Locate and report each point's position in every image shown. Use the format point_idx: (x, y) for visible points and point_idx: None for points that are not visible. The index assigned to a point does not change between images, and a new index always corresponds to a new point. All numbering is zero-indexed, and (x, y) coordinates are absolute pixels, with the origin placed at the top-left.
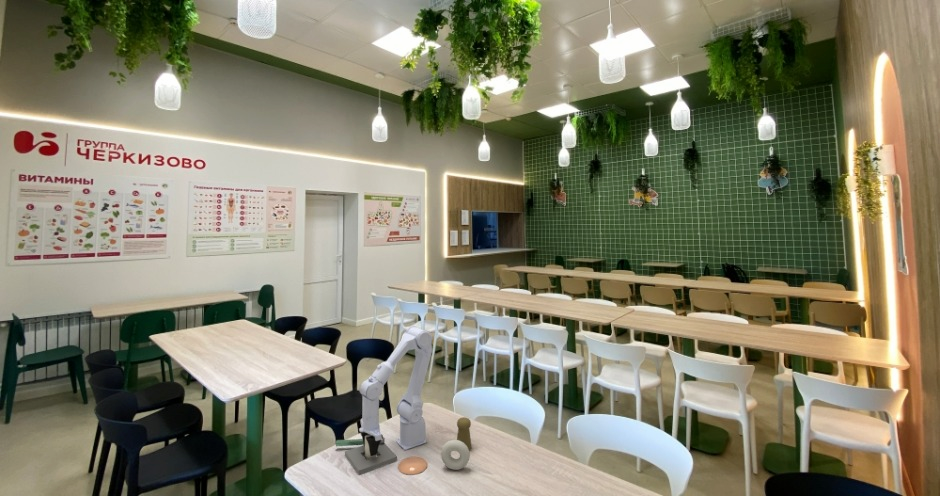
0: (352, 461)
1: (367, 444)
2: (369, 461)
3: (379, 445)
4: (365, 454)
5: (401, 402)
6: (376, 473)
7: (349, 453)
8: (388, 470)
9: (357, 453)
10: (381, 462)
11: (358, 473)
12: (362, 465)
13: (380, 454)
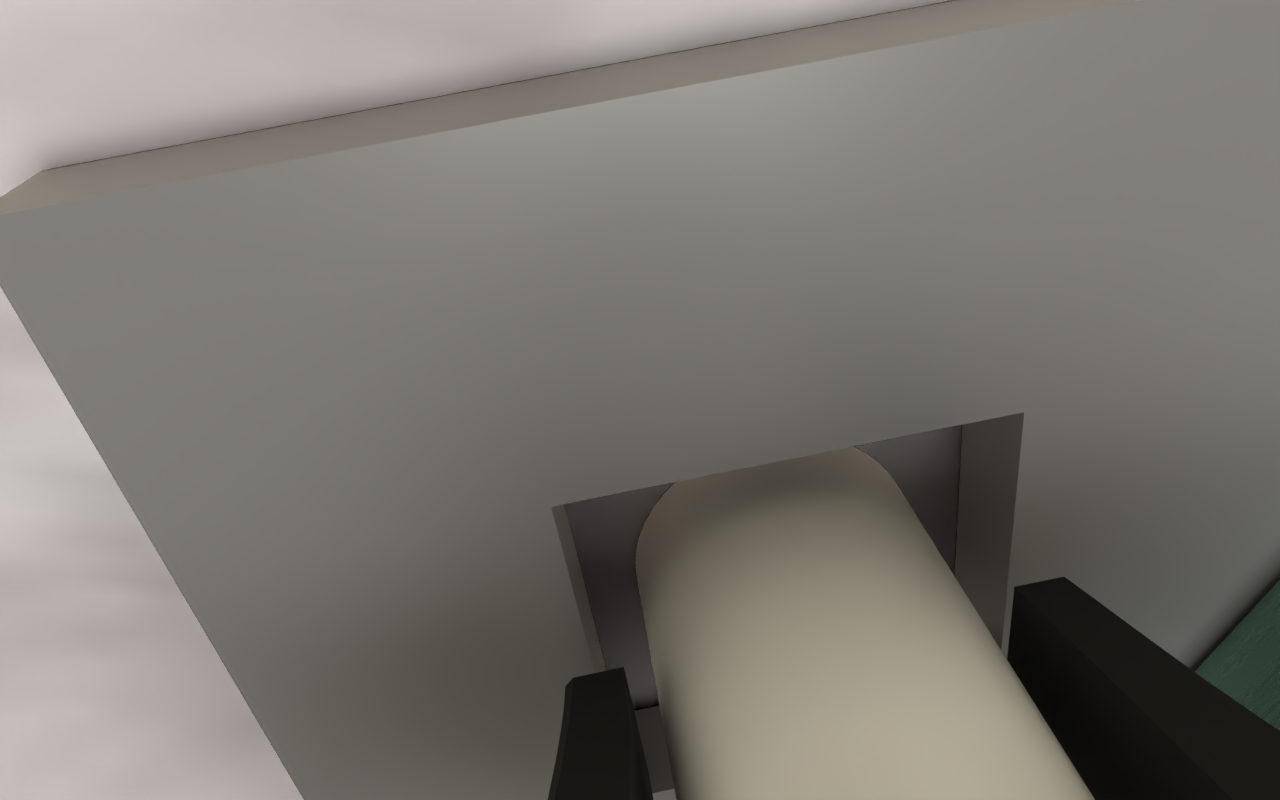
0: (688, 98)
1: None
2: (442, 572)
3: None
4: (795, 541)
5: None
6: (48, 589)
7: (1253, 80)
8: (124, 785)
9: (1056, 330)
10: (297, 784)
11: (53, 178)
12: (286, 379)
13: (665, 783)
